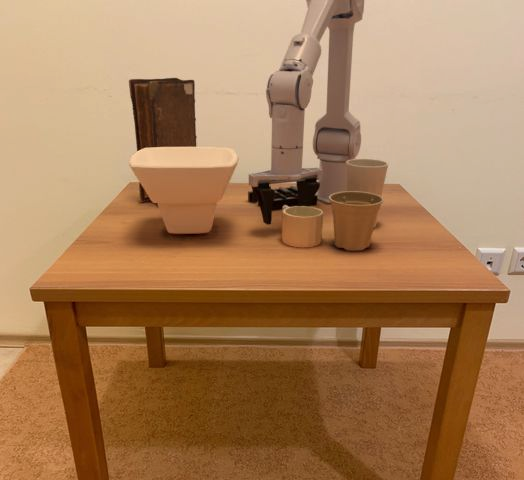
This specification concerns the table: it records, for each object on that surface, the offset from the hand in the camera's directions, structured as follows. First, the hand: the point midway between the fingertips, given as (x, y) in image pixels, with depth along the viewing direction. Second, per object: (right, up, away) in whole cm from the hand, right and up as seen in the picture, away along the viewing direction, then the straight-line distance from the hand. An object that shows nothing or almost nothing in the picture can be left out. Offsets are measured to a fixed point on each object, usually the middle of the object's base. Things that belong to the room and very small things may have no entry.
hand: (284, 220), depth 99 cm
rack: (0, +9, +18) cm, 20 cm away
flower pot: (+12, -6, -6) cm, 15 cm away
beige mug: (+2, -4, -3) cm, 5 cm away
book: (-25, +11, +22) cm, 35 cm away
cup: (+16, 0, +5) cm, 16 cm away
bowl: (-18, -2, 0) cm, 19 cm away
